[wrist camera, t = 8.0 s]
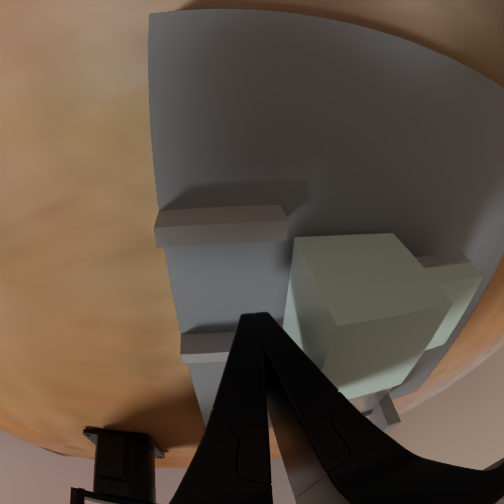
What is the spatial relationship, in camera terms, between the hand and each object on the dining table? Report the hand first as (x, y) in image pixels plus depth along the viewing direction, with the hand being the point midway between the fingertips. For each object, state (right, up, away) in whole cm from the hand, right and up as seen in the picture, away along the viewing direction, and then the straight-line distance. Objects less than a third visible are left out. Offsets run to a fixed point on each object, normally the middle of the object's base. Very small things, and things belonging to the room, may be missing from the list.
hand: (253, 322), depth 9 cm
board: (+5, 0, +5) cm, 7 cm away
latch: (+4, +1, +2) cm, 5 cm away
